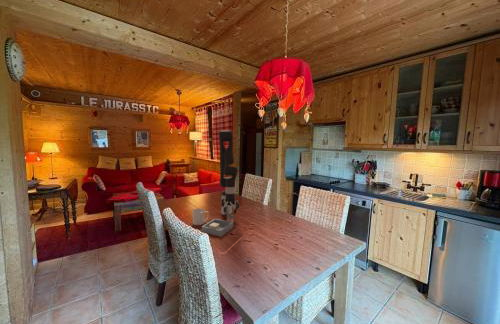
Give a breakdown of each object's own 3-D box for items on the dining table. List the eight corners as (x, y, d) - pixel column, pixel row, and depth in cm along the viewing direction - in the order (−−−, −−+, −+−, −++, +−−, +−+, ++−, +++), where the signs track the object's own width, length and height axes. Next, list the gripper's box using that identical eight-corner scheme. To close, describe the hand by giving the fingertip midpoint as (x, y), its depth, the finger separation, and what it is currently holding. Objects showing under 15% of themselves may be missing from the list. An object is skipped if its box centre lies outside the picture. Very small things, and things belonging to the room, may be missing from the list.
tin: (228, 223, 163) (229, 213, 162) (234, 224, 161) (234, 214, 160) (225, 225, 158) (225, 215, 158) (231, 227, 156) (231, 217, 155)
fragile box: (213, 229, 148) (213, 223, 148) (219, 231, 146) (219, 224, 146) (209, 232, 143) (209, 225, 143) (215, 234, 142) (215, 227, 141)
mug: (192, 226, 155) (192, 212, 154) (192, 222, 164) (192, 208, 163) (208, 225, 158) (208, 211, 157) (208, 221, 167) (208, 207, 166)
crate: (215, 224, 160) (215, 218, 159) (233, 228, 154) (233, 222, 153) (201, 233, 144) (201, 226, 144) (221, 238, 138) (221, 230, 138)
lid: (213, 223, 148) (213, 222, 148) (219, 224, 146) (219, 223, 146) (209, 225, 143) (209, 225, 143) (215, 227, 141) (215, 226, 141)
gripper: (240, 192, 158) (240, 213, 159) (224, 190, 164) (224, 210, 165) (236, 194, 151) (235, 215, 152) (219, 192, 157) (219, 213, 158)
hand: (230, 213), depth 158 cm, fingers open, 8 cm apart
